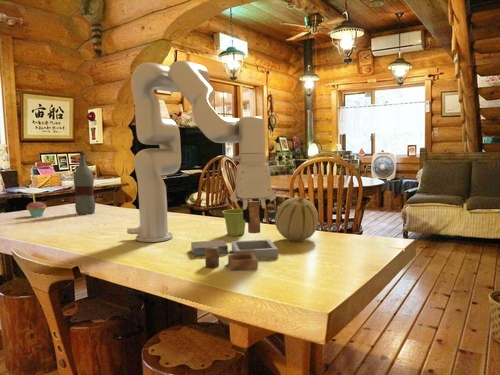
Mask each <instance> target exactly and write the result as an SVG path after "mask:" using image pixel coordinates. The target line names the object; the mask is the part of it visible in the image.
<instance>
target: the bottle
mask: <svg viewBox="0 0 500 375" xmlns="http://www.w3.org/2000/svg"><path fill="white" fill-rule="evenodd" d="M78 155H79V165H78V166H77V168H76V170H75V171H74V173H73V174H74V175H73V186H74V191H75V201H74V202H75V203H74V207H75V208H74V209H75V212H76V214H77V215H78V216H85V215H87V216H88V215H93V214H95V210H96V203H95V202H96V200H95V196H94V183H95V180H94V178H95V177H94V174H93V172H92V171H91V169H90V168H89V166H88V165H87V164H86V152H79V154H78Z"/></svg>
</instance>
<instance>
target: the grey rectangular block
mask: <svg viewBox="0 0 500 375" xmlns="http://www.w3.org/2000/svg"><path fill="white" fill-rule="evenodd" d="M190 243H191V244H190V247H191V248H190V250H191V253H192V255H193V258H201V257H202V258H203V257H205V247H208V246H217V247H218V248H219V256H222V255H228V254H229V249H228V248H229V246H228V244H227V243H226V242H225V241H224V239H219V240H216V239H215V240H205V241H191V242H190Z"/></svg>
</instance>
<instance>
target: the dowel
mask: <svg viewBox="0 0 500 375" xmlns="http://www.w3.org/2000/svg"><path fill="white" fill-rule="evenodd" d="M247 207H248V210H249V222H248V223H247V232H248V233H249V234H260V233H261V222H260V201H259V200H252V201H251V200H250V201H248V202H247Z"/></svg>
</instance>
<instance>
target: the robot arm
mask: <svg viewBox="0 0 500 375" xmlns="http://www.w3.org/2000/svg"><path fill="white" fill-rule="evenodd" d="M210 77H211V76H210V73H209V70H208V69H207V68H206V66H204V65H202V64H200V63H196V62H193V61H188V60H177V61H174V62H173V63H171V65H165V64H163V63H162V64H161V63H156V62H143V63H141V64H139V65H137V66H136V68H134V70H133V72H132V75H131V79H130V86H131V88H130V89H131V94H132V96H133V97H132V98H133V102H134V113H135V129H136V130H135V131H136V136H137V140H138V142H140V143H141V144H144V145H150V146H151V145H153V146H154V145H155V146H157V145H158V146H159V148H145V149H141V150H140V151H138V152H137V153H136V154H135V156H134V158H133V167H134V170H135V175H136V180H137V191H138V192H137V193H138V208H139V209H138V211H139V226H137V227H136V228H135V227H134V228H133V227H130V228H127V229H126V230H127V231H126V232H127V234H128V235H136V236H135V240H136V241H137V242H141V243H157V242H163V241H164V242H165V241H167V240H172V239H173V233H172V232H169V227H168V226H169V225H168V200H167V185H166V184H165V181H164V180H163V177H162V176H168V175H174V174H176V173H177V172H178V171H179V170H180V168H181V165H182V151H181V150H182V149H181V148H182V147H181V134H180V128H179V125H178V124H177V123H176V122H175V121H174V120H173V119H171V118H170V117H169V118H168V117H162V114H161V103H160V100H159V98H158V97H157V95H156V93H155V90H156V91H163V92H170V93H180V94H181V96H182V97H183V98H184V99H185V100H186V101H187V102H188V104H189V105H190V106H191V114H192V118H193V121H194V123H195V125H196V127H198V129H199V130H200V131H201V132H202V133H203V135H204V136H205V137H206V138H207V139H209V141H211V142H214V143H218V144H224V143H225V144H227V143H228V144H237V143H238V146H239V147H238V149H239V150H238V151H239V152H238V153H239V154H238V155H234V157H233V158H234V161H236V162H239V164H237V167H236V173H235V188H234V190H233V192H232V194H231V196H230V197H229V199H230V201H232V202H233V203H235V204H237V205H238V206H240V207H241V209H243V220H245V222H246V223H245V224H248V222H249V210H248V206H247V202H249V201H248V200H258V201H259V202H260V223H263V222H264V219H266V216H265V215H266V213H265V212H266V211H265V210H266V207H267V206H268V205H269V204H270V203H271V202H272V201H274V200H276V199H277V195H276V193H275V192H274V190H273V188H272V179H271V171H270V167H269V165H270V164H269V163H266V141H265V140H266V135H265V133H266V132H265V128H266V127H265V120H264V118H263V117H261V116H256V115H254V116H252V115H251V116H242V117H239V118H238V117H229V116H228V117H227V116H220V115H219V114H218V113H217V112H216V110H215V109H214V108H213V107H212V106H211V103H212V102H213V100H214V98H215V91H214V88H213V87H212V86H211V85H210V80H211V79H210ZM240 199H241V200H240Z"/></svg>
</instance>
